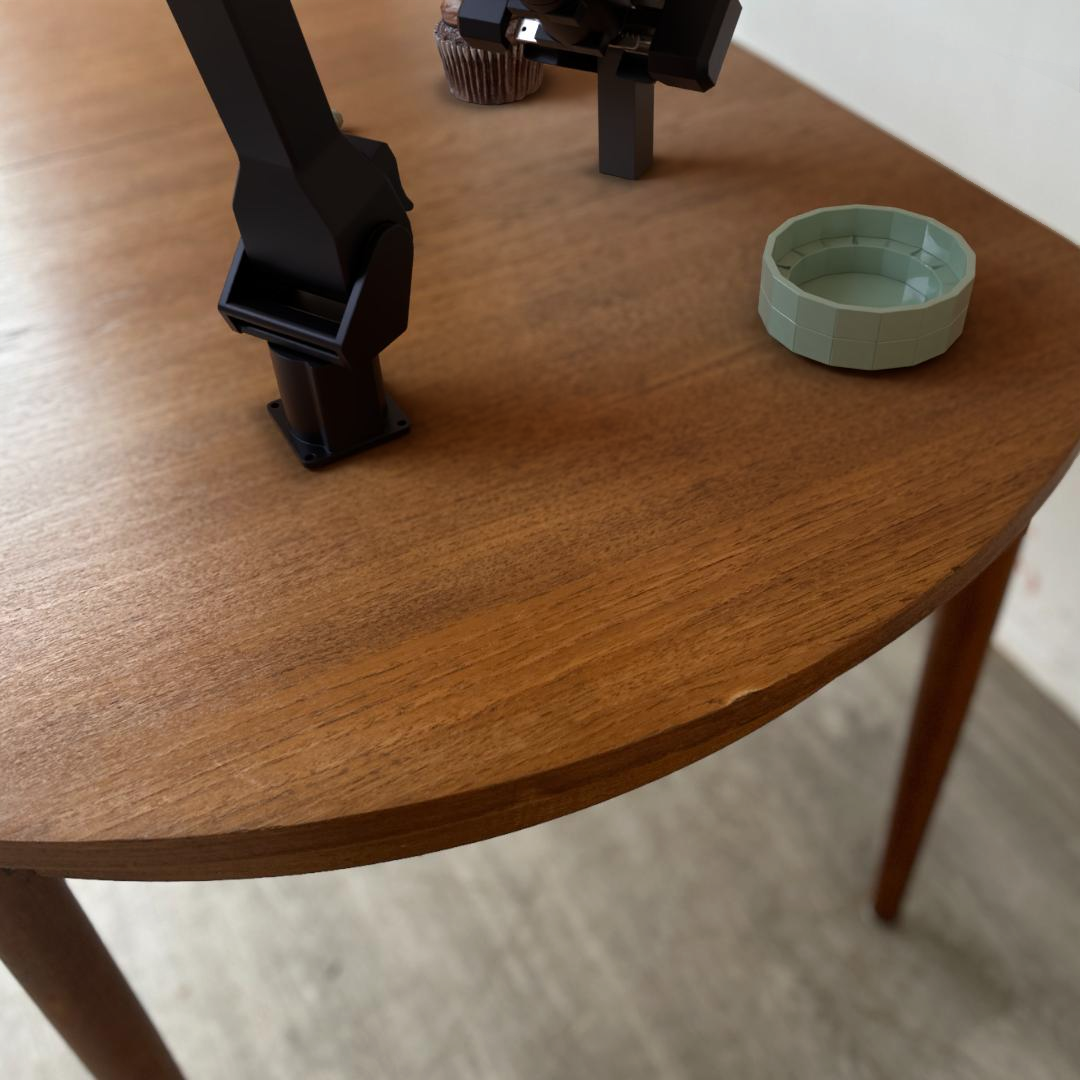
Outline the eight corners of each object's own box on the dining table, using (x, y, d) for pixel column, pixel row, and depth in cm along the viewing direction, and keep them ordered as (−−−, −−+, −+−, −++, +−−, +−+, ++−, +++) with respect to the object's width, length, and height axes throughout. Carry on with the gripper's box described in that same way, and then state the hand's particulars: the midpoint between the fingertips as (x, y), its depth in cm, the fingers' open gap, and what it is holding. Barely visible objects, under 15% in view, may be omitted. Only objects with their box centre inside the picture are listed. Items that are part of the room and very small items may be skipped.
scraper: (634, 180, 87) (635, -10, 78) (598, 172, 88) (595, -17, 79) (653, 163, 89) (656, -25, 80) (617, 155, 90) (616, -31, 81)
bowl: (1003, 335, 71) (1021, 269, 68) (844, 402, 67) (855, 335, 64) (869, 249, 79) (879, 186, 76) (720, 305, 75) (724, 240, 72)
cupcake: (485, 53, 106) (475, -68, 99) (575, 75, 101) (571, -50, 94) (415, 93, 100) (400, -32, 93) (507, 118, 96) (498, -12, 89)
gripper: (740, -161, 66) (797, -19, 81) (463, -188, 74) (560, -54, 88) (672, 32, 67) (741, 139, 81) (405, -14, 75) (510, 91, 89)
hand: (635, 73), depth 85 cm, fingers closed on scraper, 3 cm apart
